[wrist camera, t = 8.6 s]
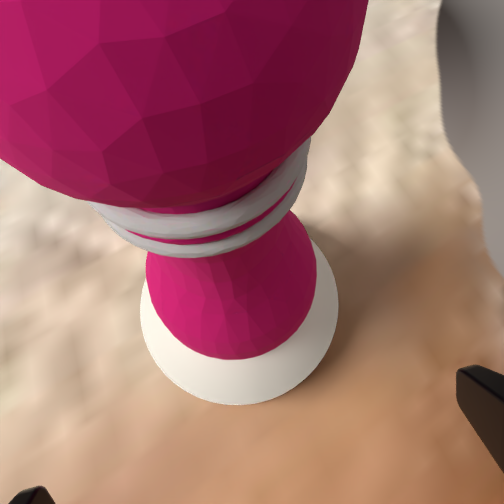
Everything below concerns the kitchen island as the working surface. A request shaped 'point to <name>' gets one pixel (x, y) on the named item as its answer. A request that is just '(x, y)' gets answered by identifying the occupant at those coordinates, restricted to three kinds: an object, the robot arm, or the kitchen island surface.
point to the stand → (252, 369)
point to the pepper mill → (185, 142)
